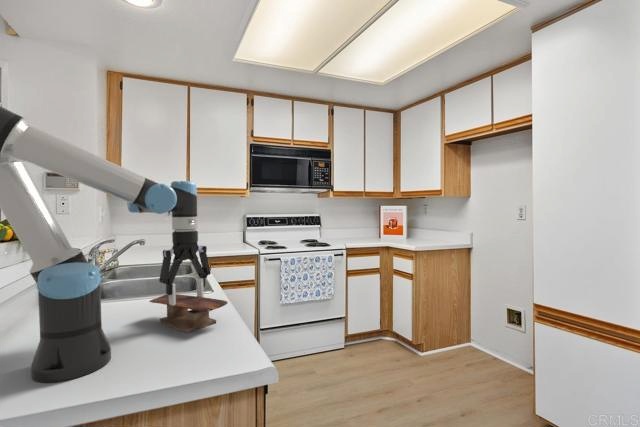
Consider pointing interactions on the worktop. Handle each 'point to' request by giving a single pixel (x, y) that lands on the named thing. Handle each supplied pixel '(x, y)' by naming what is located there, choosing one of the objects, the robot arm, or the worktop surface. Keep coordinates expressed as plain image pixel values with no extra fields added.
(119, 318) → the worktop surface
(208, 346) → the worktop surface
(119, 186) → the robot arm
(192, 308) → the wooden tablet
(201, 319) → the walnut stand
